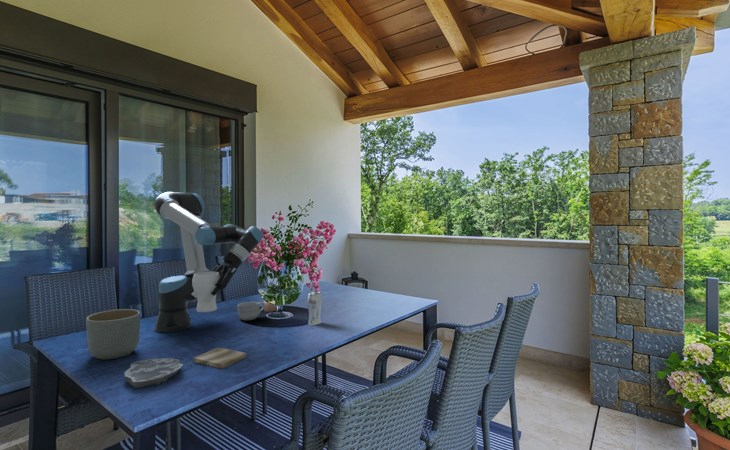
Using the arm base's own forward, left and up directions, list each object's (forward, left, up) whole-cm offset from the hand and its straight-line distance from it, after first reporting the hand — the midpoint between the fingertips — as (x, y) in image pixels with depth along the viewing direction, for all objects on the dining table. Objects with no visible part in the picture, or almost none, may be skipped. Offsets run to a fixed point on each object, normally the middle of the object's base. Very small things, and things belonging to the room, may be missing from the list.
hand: (199, 298), depth 155 cm
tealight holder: (-10, +58, -19) cm, 62 cm away
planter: (-21, -21, -20) cm, 36 cm away
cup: (+1, +3, -5) cm, 6 cm away
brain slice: (+9, -27, -20) cm, 34 cm away
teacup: (-8, +40, -20) cm, 45 cm away
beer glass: (+25, +47, -20) cm, 57 cm away
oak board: (+18, -7, -19) cm, 27 cm away
